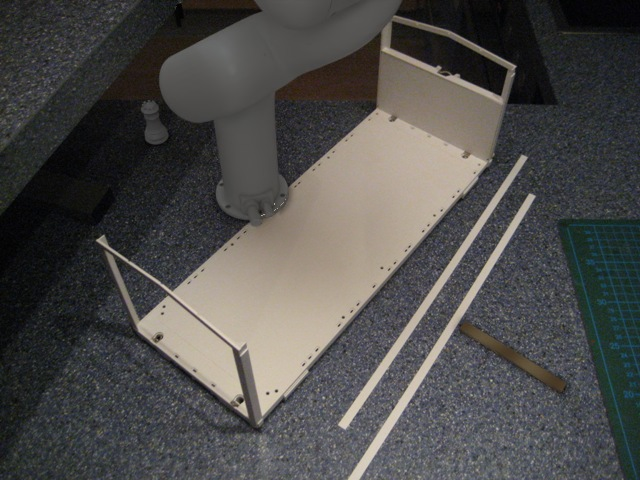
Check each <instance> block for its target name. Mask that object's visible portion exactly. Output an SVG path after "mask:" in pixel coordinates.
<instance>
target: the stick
mask: <svg viewBox="0 0 640 480" xmlns="http://www.w3.org/2000/svg"><path fill="white" fill-rule="evenodd" d="M459 331H460V332H462V333H463V334H465V335H466V336H468V337H470V338H471V339H473V340H474V341H476V342H478V343H479V344H481V345H483V346H484V347H485V348H487V349H489V350H491V351H492V352H494V353H495V354H496V355H499V356H500V357H502V358H503V359H505V360H506V361H508V362H509V363H511V364H512V365H515V366H516V367H518V368H519V369H521V370H522V371H524V372H526V373H527V374H529V375H531V376H532V377H534V378H536V380H539V381H540V382H541V383H543V384H545V385H547V386H548V387H549V388H552V389H553V390H555V391H556V392H558V393H560V394H562V392H563V390H564V389H565V388H566V386H567V382H565V381H564V380H563V379H561V378H559V377H557V376H555V374H553V373H551V372H550V371H547V370H546V369H544V368H543V367H542V366H540V365H538V364H537V363H535V362H533V361H532V360H530V359H528V358H527V357H525V356H523V355H521V353H518V352H516V351H515V350H513V349H512V348H510V347H509V346H507V345H506V344H503V343H502V342H501V341H500V340H498V339H496V338H494V337H492V336H491V335H489V334H487V333H486V332H484V331H482V330H481V329H479V328H478V327H476V326H474V325H473V324H471V323H470V322H468V321H466V320H465V321H463V323H462V325H461V326H460V327H459Z"/></svg>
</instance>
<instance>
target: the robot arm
mask: <svg viewBox="0 0 640 480" xmlns="http://www.w3.org/2000/svg"><path fill="white" fill-rule="evenodd" d="M177 1H178V2H177V3H178V4H177V5H176V6H177V7H176V10H175V9H174V10H175V11H174V12H173V11H172V13H173V18H174V21H175V24H176V27H178V28H182V27H183V25H182V20H183V19H185V15H184V9H183V5H182V4H183V2H184V0H177ZM253 1H254V2H255V4H256V5H257V6H258V7H259V9H260V10H261V11H260V12H259V11H258V12H257V13H254V14H251V15H249V16H247V17H245V18H242V19H241V20H239V21H236V22H234V23H233V24H230V25H229V26H227V27H224V28H223V29H220V30H219V31H217V32H215V33H213V34H211V35H209V36H207V37H205V38H203V39H201V40H200V41H198V42H196V43H194V44H191V45H190V46H189V47H186V48H185V49H182V50H180V51H178V52H176V53H175V54H172V55H170V56H169V57H168V58H166V60H165V61H164V62H163V64H162V65H161V68H160V69H159V76H158V84H159V90H160V94H161V97H162V99H163V101H164V102H165V104H166V106H167V107H168V108H169V109H170V110H171V111H172V112H173V113H174V114H175V115H176V116H177V117H179V118H181V119H183V120H184V121H187V122H190V123H195V124H203V123H207V122H208V123H209V122H211V121H213V126H214V127H213V128H214V133H215V139H216V146H217V153H218V159H219V165H220V169H221V170H220V171H221V179H219V181H218V183H217V185H216V188H215V198H216V203H217V204H218V205H217V206H218V207H219V208H220V210H222V212H224V213H225V214H226V215H228V216H230V217H232V218H235V219H237V220H243V221H249V223H250V225H251V227H253V228H254V227H255V228H257V227H259V226H261V225H262V223H263V220H262V219H266V218H271V217H273V216H274V215H275V214H277V213H278V212H279V211H281V209H283V207H285V204H286V203H287V201H288V200H289V199H288V198H289V186H288V182H287V180H286V179H285V177H284V176H283V175H282V174H281V173H279V163H278V162H279V161H278V159H279V158H278V145H277V142H278V141H277V128H276V126H277V125H276V92H277V91H279V90H280V89H282V88H283V87H285V86H286V85H288V84H290V83H291V82H292V81H294V80H295V79H296V78H298V77H300V76H302V75H304V74H307V73H309V72H312V71H315V70H317V69H320V68H323V67H325V66H327V65H329V64H332V63H334V62H337V61H339V60H342V59H344V58H345V57H347V56H350V55H351V54H354V53H356V52H357V51H358V50H360V49H362V48H363V47H364V46H366V45H367V44H369V43H370V42H371V41H372V40H373V39H375V38H376V37H377V36H378V35H379V34H380V33H381V32H382V31H383V30H384V29H385V28H386V26H387V25H389V23H390V22H391V21H392V20H393V18H394V17H395V15H396V13H397V12H398V10H399V9H400V6H401V4H402V2H403V0H253ZM285 199H286V200H285ZM283 202H284V203H283ZM274 203H275V205H274ZM282 203H283V204H282ZM281 204H282V205H281ZM280 205H281V206H280ZM279 206H280V207H279ZM277 208H278V209H277ZM275 209H276V210H275ZM274 210H275V211H274ZM263 214H265V215H263ZM261 215H263V216H261Z"/></svg>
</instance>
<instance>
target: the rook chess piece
mask: <svg viewBox="0 0 640 480" xmlns="http://www.w3.org/2000/svg"><path fill="white" fill-rule="evenodd" d="M159 109H160V106H159V105H158V104H157V102H156V101H155V100H151V99H147V101H145V100H144V101H143V102H142V103H141V107H140V112H141V113H142V114H143V118H144V119H145V125H146V126H145V130H144V139H145V141H146V142H147V143H148V144H150V145H155V146H158V145H162V144H164V143H165V142H166V141H167V140H168V138H169V136H170V135H169V134H170V133H169V132H168V129H167V128H166V126H165V125H164V124H163V123H162V122H161V119H160V112H159Z"/></svg>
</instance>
